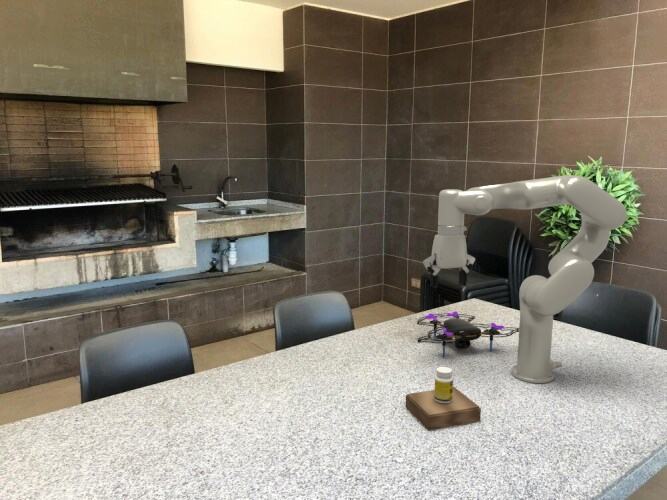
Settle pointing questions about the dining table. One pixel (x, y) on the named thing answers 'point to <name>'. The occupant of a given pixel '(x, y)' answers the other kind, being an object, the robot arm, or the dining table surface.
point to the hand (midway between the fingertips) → (448, 286)
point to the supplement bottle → (443, 385)
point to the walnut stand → (442, 410)
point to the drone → (460, 330)
